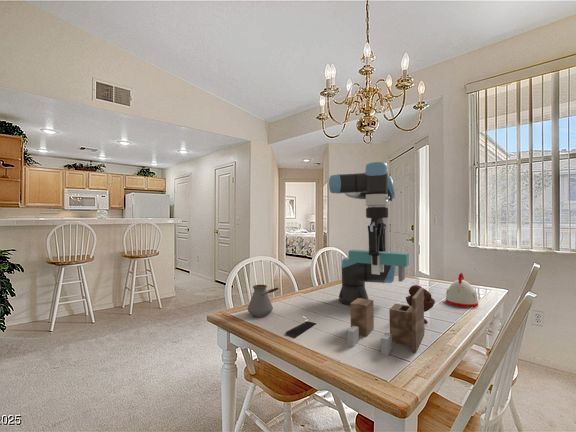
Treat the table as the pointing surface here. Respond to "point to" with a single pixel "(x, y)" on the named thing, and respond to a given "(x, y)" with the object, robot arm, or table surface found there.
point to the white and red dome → (461, 294)
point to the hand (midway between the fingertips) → (377, 272)
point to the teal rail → (383, 260)
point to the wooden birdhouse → (408, 322)
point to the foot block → (362, 315)
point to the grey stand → (385, 340)
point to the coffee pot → (260, 301)
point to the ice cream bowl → (427, 298)
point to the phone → (300, 329)
